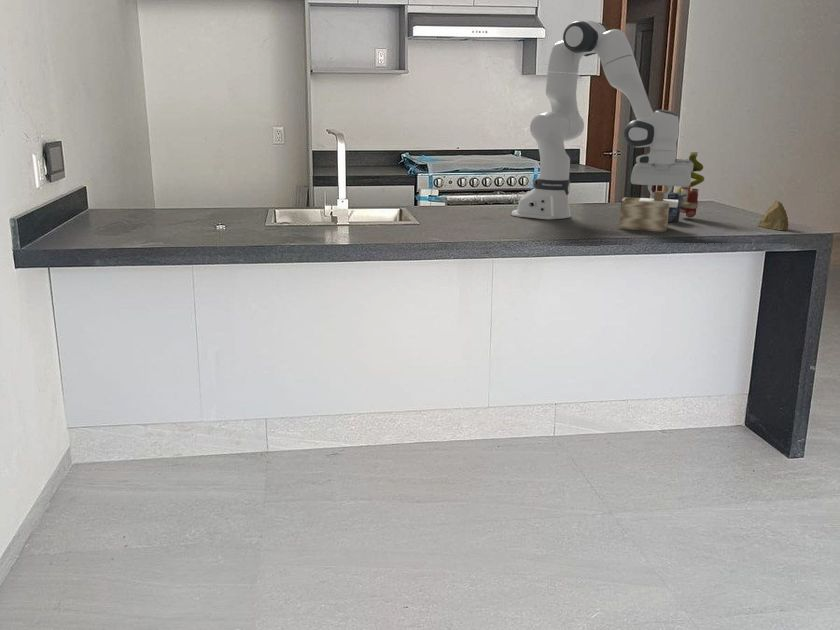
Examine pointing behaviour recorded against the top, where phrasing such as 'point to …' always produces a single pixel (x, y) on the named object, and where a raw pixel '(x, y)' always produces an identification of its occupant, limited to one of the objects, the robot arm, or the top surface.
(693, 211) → the snake in a can
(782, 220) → the rock
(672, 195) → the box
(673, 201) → the lid
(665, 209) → the birch box
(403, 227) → the top surface
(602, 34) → the robot arm
